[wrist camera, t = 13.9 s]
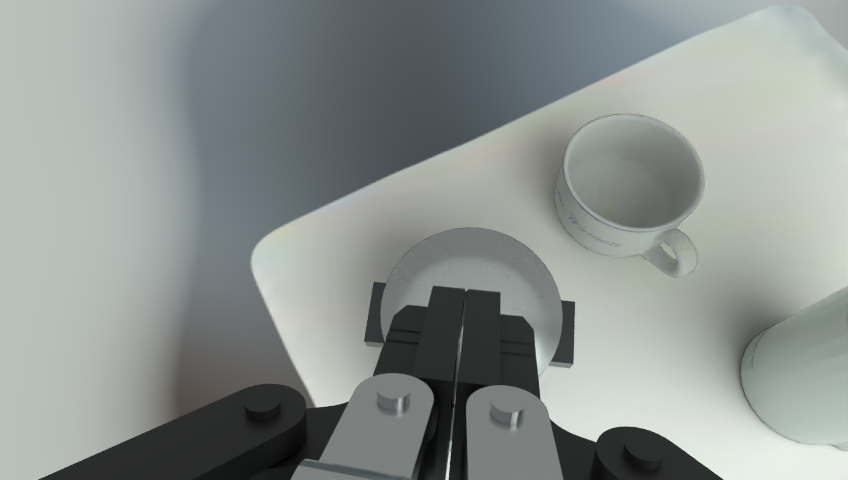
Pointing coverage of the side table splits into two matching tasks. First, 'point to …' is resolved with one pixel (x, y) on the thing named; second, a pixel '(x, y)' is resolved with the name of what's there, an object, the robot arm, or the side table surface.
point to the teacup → (631, 190)
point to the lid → (480, 281)
